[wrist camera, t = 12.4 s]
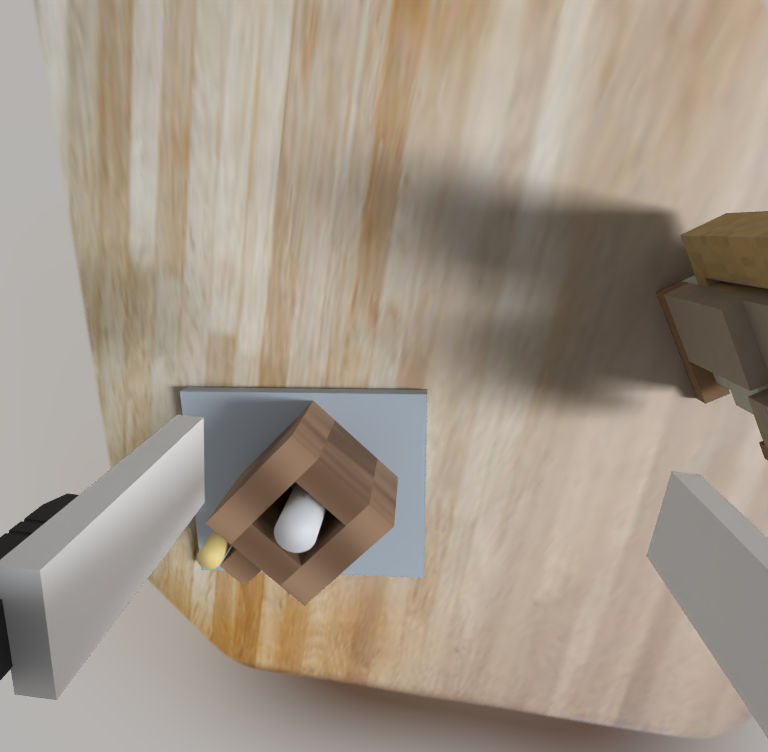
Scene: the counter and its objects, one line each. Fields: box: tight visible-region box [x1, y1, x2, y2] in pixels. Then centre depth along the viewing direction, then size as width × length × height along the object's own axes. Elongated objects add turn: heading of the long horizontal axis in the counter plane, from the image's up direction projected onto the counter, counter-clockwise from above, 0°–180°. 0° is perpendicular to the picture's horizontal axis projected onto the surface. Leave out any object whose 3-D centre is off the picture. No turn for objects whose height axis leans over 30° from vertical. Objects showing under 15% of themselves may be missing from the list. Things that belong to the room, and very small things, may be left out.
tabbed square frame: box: [205, 401, 398, 606], centre depth 38 cm, size 13×9×7 cm
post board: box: [180, 387, 427, 578], centre depth 38 cm, size 16×19×9 cm
